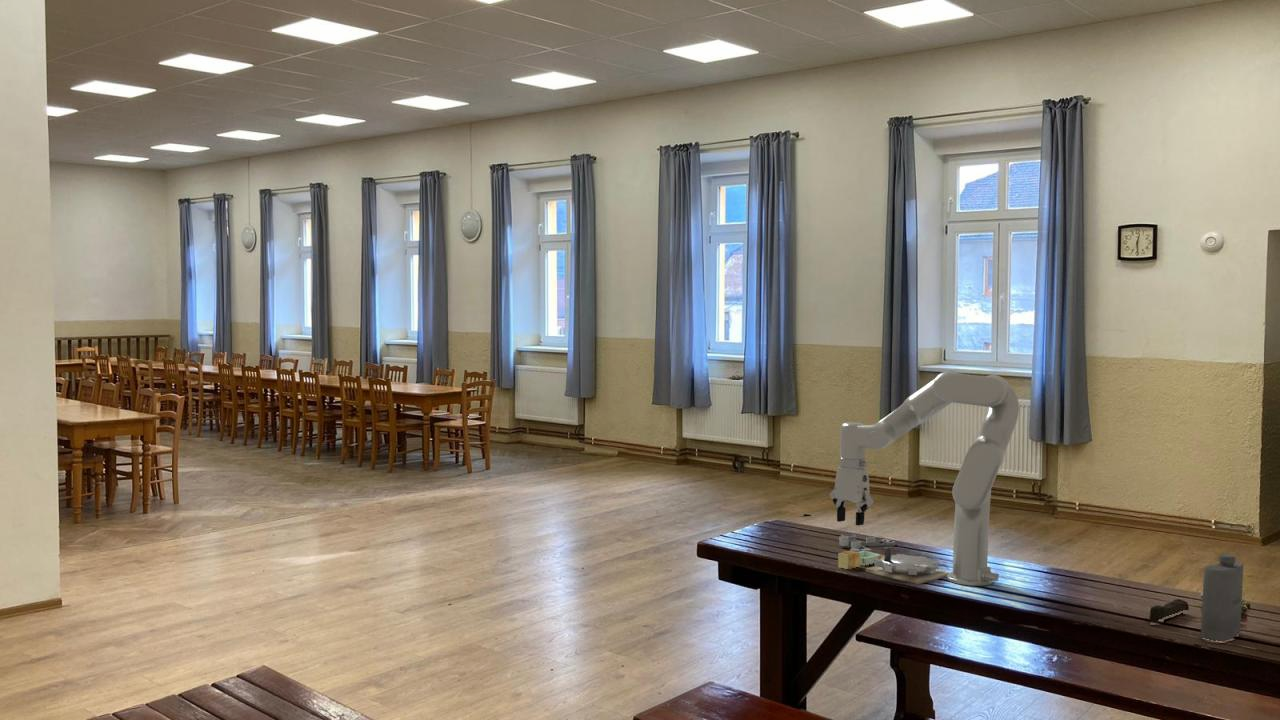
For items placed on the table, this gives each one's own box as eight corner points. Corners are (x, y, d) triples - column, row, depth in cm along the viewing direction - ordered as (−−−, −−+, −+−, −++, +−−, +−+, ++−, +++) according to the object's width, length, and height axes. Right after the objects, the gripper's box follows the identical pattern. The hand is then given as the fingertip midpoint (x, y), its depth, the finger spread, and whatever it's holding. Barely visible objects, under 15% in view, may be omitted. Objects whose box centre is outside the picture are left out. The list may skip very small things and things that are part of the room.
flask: (1223, 646, 250) (1227, 562, 249) (1197, 640, 254) (1201, 557, 253) (1246, 634, 260) (1250, 553, 259) (1220, 628, 264) (1224, 549, 263)
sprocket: (921, 559, 324) (921, 540, 323) (949, 574, 306) (950, 553, 305) (864, 560, 320) (865, 541, 320) (890, 575, 302) (891, 554, 302)
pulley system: (822, 553, 342) (865, 558, 333) (822, 538, 342) (865, 543, 333) (858, 543, 364) (899, 547, 355) (858, 529, 364) (899, 532, 356)
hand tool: (1173, 612, 279) (1173, 594, 279) (1188, 615, 276) (1189, 598, 276) (1138, 624, 267) (1139, 606, 267) (1155, 628, 264) (1155, 610, 264)
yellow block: (859, 567, 320) (860, 552, 320) (847, 570, 317) (848, 554, 316) (850, 564, 323) (850, 549, 323) (837, 567, 319) (838, 552, 319)
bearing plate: (948, 575, 312) (949, 570, 312) (917, 584, 301) (918, 578, 301) (897, 564, 325) (897, 559, 325) (865, 571, 315) (865, 566, 315)
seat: (881, 561, 328) (881, 554, 328) (863, 565, 322) (864, 558, 322) (864, 558, 333) (864, 550, 333) (846, 561, 327) (846, 554, 327)
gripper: (883, 466, 315) (881, 526, 315) (836, 459, 327) (835, 517, 328) (868, 468, 310) (866, 529, 310) (821, 461, 322) (819, 519, 323)
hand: (850, 522), depth 319 cm, fingers open, 6 cm apart
